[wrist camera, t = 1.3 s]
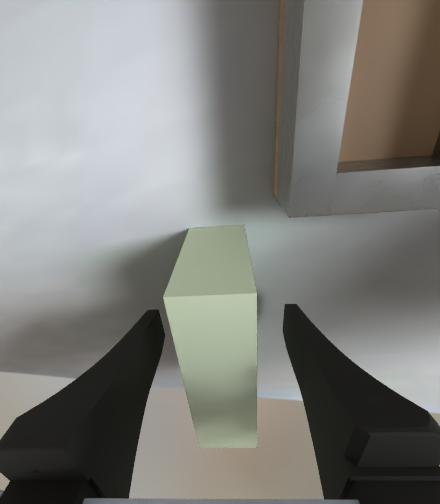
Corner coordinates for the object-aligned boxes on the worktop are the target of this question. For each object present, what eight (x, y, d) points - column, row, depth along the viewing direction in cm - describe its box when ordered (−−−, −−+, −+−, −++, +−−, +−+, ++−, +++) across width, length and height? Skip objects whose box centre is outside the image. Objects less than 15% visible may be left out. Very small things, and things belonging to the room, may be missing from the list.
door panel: (244, 224, 13) (256, 293, 7) (247, 349, 17) (256, 447, 12) (189, 227, 13) (163, 297, 7) (207, 350, 17) (199, 447, 12)
